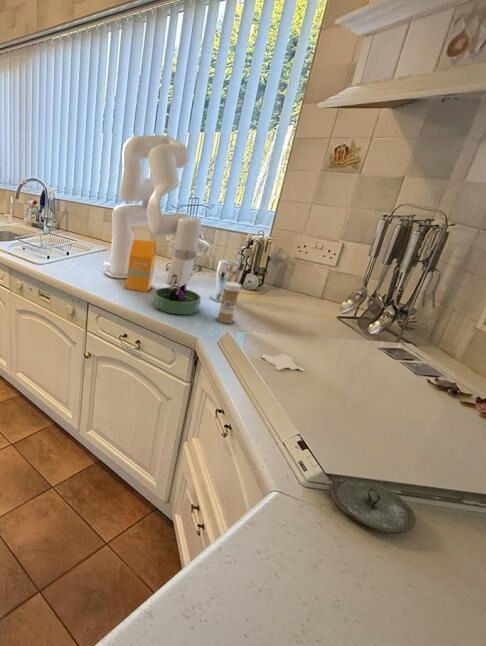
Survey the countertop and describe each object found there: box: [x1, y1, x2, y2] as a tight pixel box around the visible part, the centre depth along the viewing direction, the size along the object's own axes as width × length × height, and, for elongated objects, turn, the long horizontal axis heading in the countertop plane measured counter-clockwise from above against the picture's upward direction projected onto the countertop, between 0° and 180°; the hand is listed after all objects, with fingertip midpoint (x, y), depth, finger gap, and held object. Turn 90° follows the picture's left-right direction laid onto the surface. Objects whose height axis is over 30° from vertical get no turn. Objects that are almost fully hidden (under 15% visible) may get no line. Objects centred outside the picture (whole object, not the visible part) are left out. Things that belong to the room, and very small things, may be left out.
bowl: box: [153, 287, 202, 315], centre depth 144 cm, size 15×15×5 cm
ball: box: [176, 289, 185, 302], centre depth 143 cm, size 5×5×5 cm
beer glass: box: [212, 258, 240, 303], centre depth 149 cm, size 7×7×15 cm
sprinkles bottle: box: [217, 281, 242, 324], centre depth 131 cm, size 5×5×14 cm
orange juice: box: [125, 239, 157, 293], centre depth 161 cm, size 8×9×20 cm
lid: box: [329, 479, 417, 534], centre depth 65 cm, size 11×10×5 cm
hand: (176, 301), depth 144 cm, fingers closed on ball, 4 cm apart
